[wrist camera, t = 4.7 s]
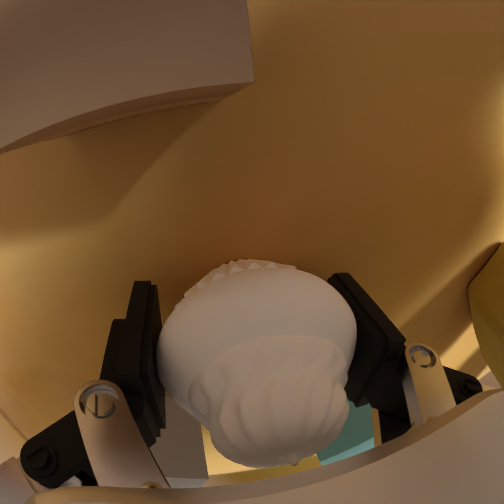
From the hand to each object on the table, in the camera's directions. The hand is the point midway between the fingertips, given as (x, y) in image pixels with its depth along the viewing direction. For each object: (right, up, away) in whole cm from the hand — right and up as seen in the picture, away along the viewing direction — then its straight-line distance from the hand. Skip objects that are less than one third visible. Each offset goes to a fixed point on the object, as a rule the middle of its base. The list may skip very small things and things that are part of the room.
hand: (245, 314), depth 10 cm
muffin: (0, +1, +1) cm, 1 cm away
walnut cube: (-3, +9, -4) cm, 10 cm away
